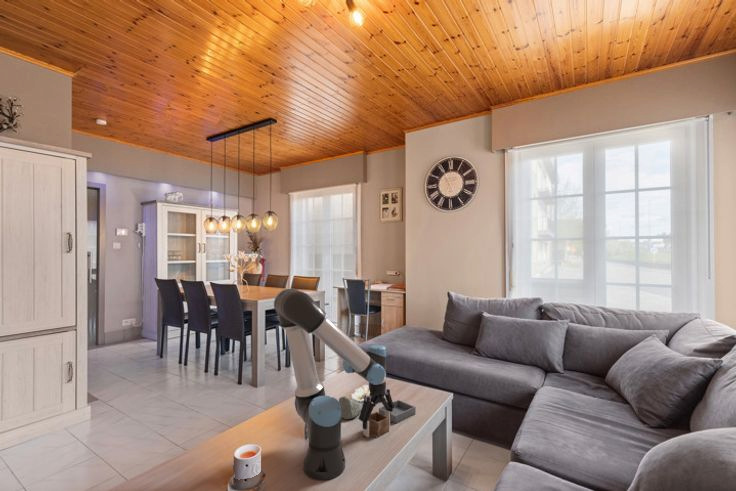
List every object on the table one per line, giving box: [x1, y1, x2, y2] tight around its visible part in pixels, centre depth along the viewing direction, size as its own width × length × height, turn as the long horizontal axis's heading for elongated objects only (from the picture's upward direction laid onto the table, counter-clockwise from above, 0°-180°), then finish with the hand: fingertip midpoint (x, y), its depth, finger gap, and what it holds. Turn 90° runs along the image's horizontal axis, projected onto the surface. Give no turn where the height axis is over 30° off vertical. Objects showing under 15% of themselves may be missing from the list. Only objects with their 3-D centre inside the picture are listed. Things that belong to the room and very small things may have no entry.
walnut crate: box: [365, 411, 390, 438], centre depth 151 cm, size 7×8×6 cm
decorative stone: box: [338, 396, 363, 420], centre depth 165 cm, size 13×11×10 cm
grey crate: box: [378, 399, 417, 425], centre depth 166 cm, size 14×11×4 cm
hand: (377, 430), depth 151 cm, fingers open, 12 cm apart
